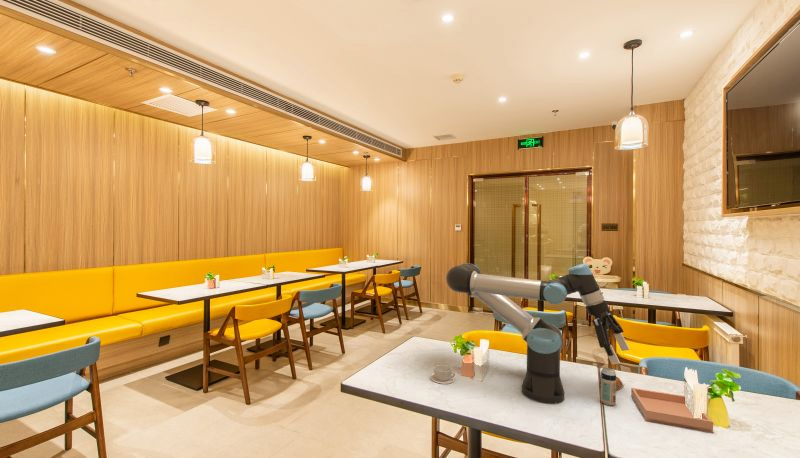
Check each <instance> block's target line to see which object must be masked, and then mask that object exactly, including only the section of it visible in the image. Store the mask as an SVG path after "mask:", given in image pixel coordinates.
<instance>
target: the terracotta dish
mask: <svg viewBox="0 0 800 458" xmlns="http://www.w3.org/2000/svg"><path fill="white" fill-rule="evenodd" d="M630 390H631V391H630V393H631V394H630V395H631V396H630V398H631V397H632V398H631V399H632V401H633V402H635V403H634V404H635V406H636V407H637V410H638V411H639V412H640V414H641V415H642V418H643V419H644V421H645V422H648V423H649V422H650V423H655V424H660V425H665V426H672V427H675V428H683V429H688V430H693V431H699V432H703V433H704V432H705V433H711V434H713V433H714V421H713V420H712V419H711V418H710V417H709V416H708V414H706V413H705V412H704V413H702V419H700V418H694V417H693V415H692V413H691V412H690V411H689V409H688V408H687V407H686V405H685V396H686V395H680V394H674V393H667V392H661V391H655V390H648V389H641V388H635V387H631V389H630Z"/></svg>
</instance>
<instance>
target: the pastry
mask: <svg viewBox="0 0 800 458" xmlns="http://www.w3.org/2000/svg"><path fill="white" fill-rule="evenodd" d="M621 387H622V388H624V383H623V382H622V380H621V379H620V377H618V376H617V375H616V391H618V390H621V389H622V388H621ZM620 388H621V389H620Z"/></svg>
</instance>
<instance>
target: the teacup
mask: <svg viewBox="0 0 800 458" xmlns="http://www.w3.org/2000/svg"><path fill="white" fill-rule="evenodd" d="M452 370H453V368H452V367H451V366H450V365H447V364H437V365H434V366H433V374H432V375H431V376H430V379H431V381H432V382H435V383H436V384H443V385H444V384H445V385H448V384H452V383H454V382H455V380H456V378H455V376H456V373H455V371H452ZM452 374H453V375H452Z"/></svg>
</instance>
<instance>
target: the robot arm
mask: <svg viewBox="0 0 800 458" xmlns="http://www.w3.org/2000/svg"><path fill="white" fill-rule="evenodd" d="M567 271H568V273H567V274H564V275H562V276H559V277H557V278H554V279H553V278H552V279H549V280H539V279H528V278H519V277H512V276H511V277H510V276H502V275H492V274H485V273H484V274H483V273H482V272H481V270H480V268H479V267H478V266H477V265H475V264H473V263H466V262H465V263H461V264H460V265H454V266H452V267H451V268H450V269H449V270H448V271H447V273H446V276H445V281H446V284H447V286H448V288H450V289H451V290H452V291H453V292H455V293H462V294H466V295H467V296H469V297H470V298H477V299H478V300H479V301H480V302H482V304H484V305H486V307H488V308H489V309H490V310H492V311H493V312H494V313H495V314H497V315H498V316H499V317H500V318H502V319H503V320H504V321H505V322H507V323H508V324H509V325H510V326H512V327H513V328H514V329H515V330H517V332H519V333H520V334H521V336H522V339H523V341H525V342H526V372H525V374H524V377H523V380H522V383H521V394H523V395H524V396H525V397H526V398H527V399H529V400H532V401H535V402H537V403H543V404H550V405H551V404H552V405H553V404H560V403H563V402H564V400H566V399H565V396H566V395H565V394H566V392H565V388H564V386H563V383H562V378H561V354H562V349H563V347H564V338H563V334H562V332H561V330H560V329H559V328H558V327H557V326H555V325H553V324H552V323H548V322H546V321H545V320H544V319H542V318H541V317H534V316H533V315H531V314H530V313H528V311H526V310H524V309H523V308H522V307H521V306H519V305H518V304H517V303H516V302H514V301H513V300H512V299H510V298H509V297H512V298H513V297H514V298H519V299H527V300H528V299H529V300H537V301H542V302H548V303H550V304H551V305H560V304H562V303H563V302H565V301H566V299H567V296H568V295H571V294H574V293H577V292H578V294H579V296H580V299H581V300H582V303H583V305H584V306H585V309H586V311H587V314H588V315H589V316H593V317H594V319H592V321H591V322H592V324H593V327H594V329H595V334H596V338H597V340H598V344H599V348H601V349H604V351H605V353H606V355H607V357H608V360H609V362H610V364H611V365H619V364H620V363H621V361H620V360H619V357H618V356H617V353H616V352H615V349H614V348H613V347H614V346H613V345H612V344H611V341H610V336H609V331H608V329H609V330H611V332H612V333H613V336H614V338H615V340H616V342H617V344H618V347H619V348H620V350H621V351H622V352H624V351H625V352H626V351H630V347H629V345H628V344H627V343H628V342H627V341H626V339H625V336H624V335H623V333H624V330H623V328H622V326H621V325H620V323H619V322H618V321H617V319H616V318H615V316H614V315H613V313H612V312H611V310H610V307H609V304H608V303H607V301H606V300H605V296H604V292H603V291H601V289H600V286H599V284H598V283H597V280H596V278H595V276H594V274H593V272H592V270H591V269H590V267H589V265H588V264H587V263H580V264H577V265H575V266H572V267H569V268H568V270H567Z"/></svg>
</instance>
